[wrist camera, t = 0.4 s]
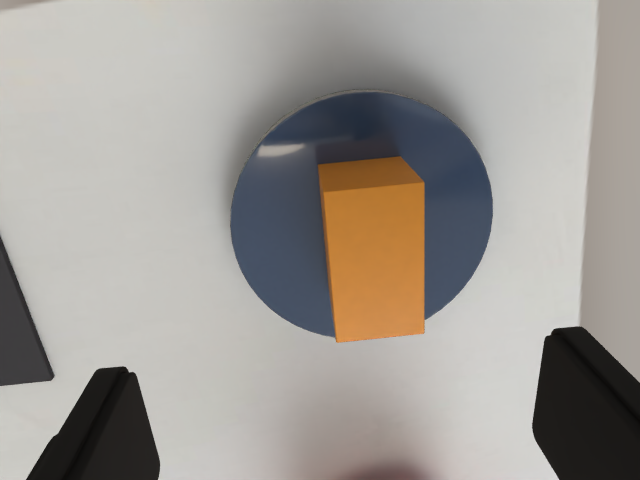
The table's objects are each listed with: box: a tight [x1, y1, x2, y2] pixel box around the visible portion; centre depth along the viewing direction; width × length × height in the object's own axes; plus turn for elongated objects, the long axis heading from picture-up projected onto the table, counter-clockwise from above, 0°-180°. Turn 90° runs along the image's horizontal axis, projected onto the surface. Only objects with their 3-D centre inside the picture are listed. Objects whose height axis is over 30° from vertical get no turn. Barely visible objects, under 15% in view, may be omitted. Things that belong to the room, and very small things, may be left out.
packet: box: [318, 156, 424, 343], centre depth 25 cm, size 8×4×5 cm, turn 5°
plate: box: [230, 89, 493, 337], centre depth 27 cm, size 15×15×2 cm
